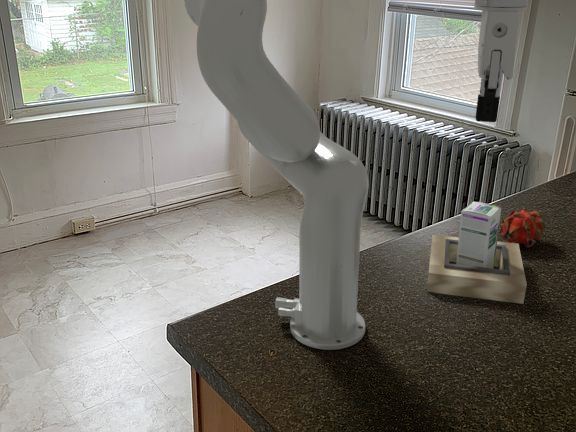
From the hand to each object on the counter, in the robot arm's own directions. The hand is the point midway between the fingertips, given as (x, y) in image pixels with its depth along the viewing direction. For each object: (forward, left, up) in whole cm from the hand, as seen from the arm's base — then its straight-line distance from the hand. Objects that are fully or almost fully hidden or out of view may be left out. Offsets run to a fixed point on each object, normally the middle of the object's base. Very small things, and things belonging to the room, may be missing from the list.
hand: (485, 120), depth 96 cm
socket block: (+2, +9, -33) cm, 34 cm away
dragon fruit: (+12, +26, -33) cm, 44 cm away
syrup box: (+2, +9, -33) cm, 35 cm away
